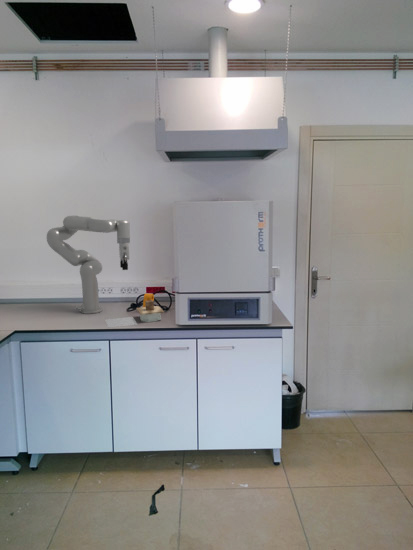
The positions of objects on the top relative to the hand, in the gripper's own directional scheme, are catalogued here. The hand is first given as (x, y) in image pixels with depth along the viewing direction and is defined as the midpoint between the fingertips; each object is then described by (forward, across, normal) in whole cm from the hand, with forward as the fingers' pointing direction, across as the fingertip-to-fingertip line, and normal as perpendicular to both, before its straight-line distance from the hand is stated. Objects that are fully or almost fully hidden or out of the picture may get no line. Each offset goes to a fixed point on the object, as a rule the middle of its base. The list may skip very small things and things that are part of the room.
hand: (124, 268), depth 235 cm
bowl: (+28, -22, -12) cm, 37 cm away
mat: (+28, -22, +5) cm, 36 cm away
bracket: (+28, -6, -16) cm, 32 cm away
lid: (+22, -22, -12) cm, 33 cm away
